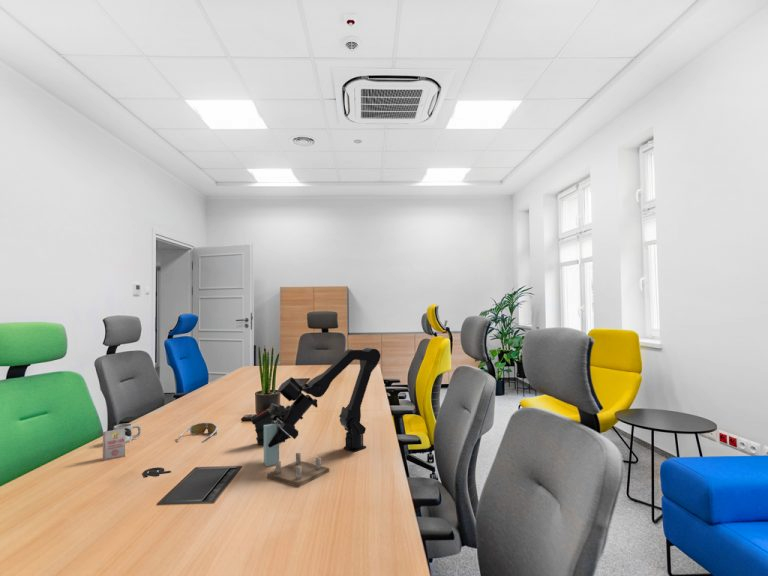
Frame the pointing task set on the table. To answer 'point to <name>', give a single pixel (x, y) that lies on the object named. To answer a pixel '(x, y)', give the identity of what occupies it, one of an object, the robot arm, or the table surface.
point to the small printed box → (113, 444)
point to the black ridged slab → (261, 424)
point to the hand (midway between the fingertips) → (267, 444)
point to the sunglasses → (202, 429)
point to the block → (270, 452)
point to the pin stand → (298, 471)
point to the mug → (128, 431)
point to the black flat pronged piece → (154, 471)
